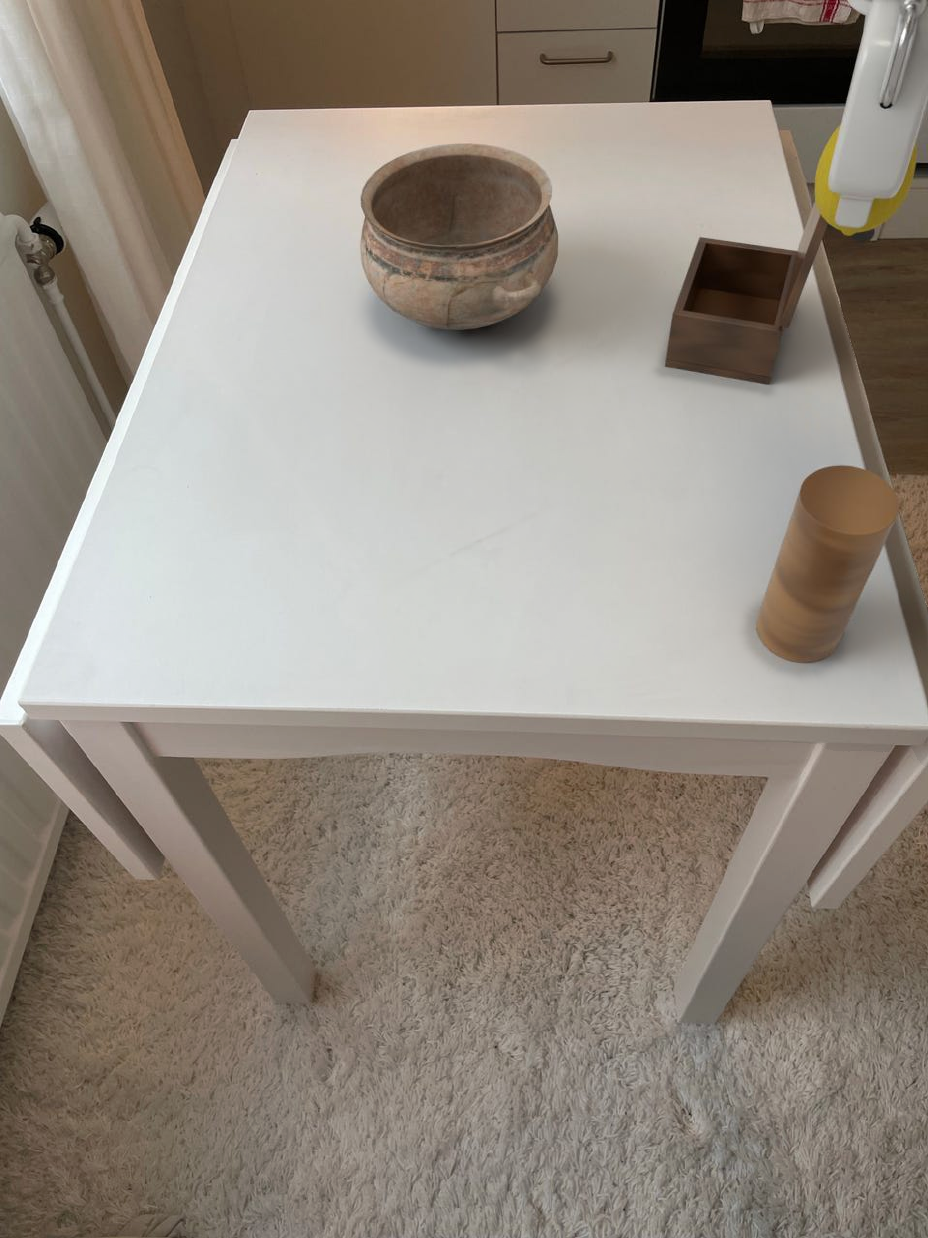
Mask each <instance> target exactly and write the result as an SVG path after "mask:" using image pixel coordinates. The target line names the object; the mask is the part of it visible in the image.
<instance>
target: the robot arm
mask: <svg viewBox="0 0 928 1238" xmlns="http://www.w3.org/2000/svg"><path fill="white" fill-rule="evenodd" d="M846 1H847V2H848V4H849V5H850V7H851V8H852V9H853V10H855V11H857V12H858V13H859V14H861V15H863V16H865V18H864V24H863V32H862V36H861V40H860V45H859V48H858V53H857V56H856V60H855V64H854V69H853V72H852V78H851V81H850V85H849V90H848V93H847V97H846V101H845V105H844V110H843V114H842V118H841V122H840V125H841V126H840V125H839V126H840V130H839V134H838V138H837V142H836V147H835V151H834V155H833V159H832V163H831V167H830V171H829V179H828V185H829V189H830V190H831V191H832V192H834V193H837V194H841V196H840V200H839V204H838V208H837V212H836V217H835V221H836V223H837V224H838V225H839V226H844V227H852V228H861V227H863V226H865V224H866V223H867V220H868V217H869V213H870V210H871V207H872V203H873V200H874V198H878V199H888V198H892V197H894V196H895V195H896V194H897V192H898V191H899V189H900V187H901V185H902V183H903V180H904V177H905V174H906V171H907V168H908V165H909V162H910V158H911V155H912V151H913V148H914V145H915V141H916V142H917V137H918V134H919V131H920V128H921V125H922V121H923V117H924V114H925V111H926V107H927V104H928V0H846Z"/></svg>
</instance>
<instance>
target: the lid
mask: <svg viewBox="0 0 928 1238" xmlns="http://www.w3.org/2000/svg"><path fill="white" fill-rule="evenodd" d="M827 229H829V230H830V229H831V230H835V231H838V232H839V231H840V232H842V231H841V230H839V229H836V228H835V227H833V226H832V225H830V224H829V223H828V222H827V221H826V220H825V219H824V218H823V217H822V215H821V214H820V211H819V209H818V207H817V204H816V200H814V202H813V205H812V208H811V211H810V213H809V216H808V219H807V222H806V223H805V227H804V230H803V232H802V236H801V237H800V242H799V243H798V247H797V250H796V251H797V255H796V259H795V263H794V267H793V271H792V275H791V279H790V283H789V288H788V292H787V296H786V300H785V304H784V308H783V312H782V316H781V320H780V324H779V326H782V327H783V328H786V329H788V328H789V327H790V325H791V322H792V320H793V317H794V314H795V312H796V309H797V307H798V304H799V301H800V298H801V295H802V293H803V290H804V288H805V286H806V282H807V280H808V278H809V275H810V272H811V269H812V266H813V264H814V261H815V259H816V256H817V254H818V251H819V248H820V246H821V243H822V240H823V238H824V236H825V233H826V230H827ZM875 233H876V228H873V229H871V230H868V231H864V232H856V233H855V234H853V235H850V237H851V239H852V241H854V242H855V243H857V244H864V243H868V242H870V241H871V240H872V239H873V238H874V236H875Z"/></svg>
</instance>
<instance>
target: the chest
mask: <svg viewBox="0 0 928 1238" xmlns="http://www.w3.org/2000/svg"><path fill="white" fill-rule="evenodd" d="M797 251H798V250H793V249H786V248H779V247H773V246H772V247H771V246H767V245H766V246H765V245H760V244H759V245H758V244H751V243H745V242H738V241H730V240H723V239H716V238H709V237H702V236H700V237H698V240H697V243H696V246H695V248H694V251H693V252H694V253H693V254H692V258H691V260H690V263H689V266H688V268H687V271H686V275H685V278H684V280H683V284H682V286H681V289H680V291H679V294H678V298H677V300H676V303H675V306H674V309H673V311H672V315H671V323H670V329H669V336H668V341H667V348H666V356H665V362H664V367H668V368H672V369H679V370H685V371H690V372H697V373H701V374H708V375H712V376H719V377H724V378H731V379H735V380H742V381H747V382H753V383H759V384H764V385H769V384H770V380H771V376H772V373H773V369H774V365H775V363H776V357H777V353H778V350H779V346H780V343H781V338H782V335H783V330H784V327H782V326H779V324H780V320H781V316H782V312H783V308H784V304H785V300H786V296H787V292H788V288H789V283H790V279H791V275H792V271H793V267H794V263H795V259H796V255H797Z"/></svg>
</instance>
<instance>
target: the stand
mask: <svg viewBox="0 0 928 1238" xmlns="http://www.w3.org/2000/svg"><path fill="white" fill-rule="evenodd" d="M791 512H792V513H791V514H790V519H789V521H788V524H787V527H786V530H785V533H784V536H783V539H782V542H781V545H780V548H779V551H778V554H777V558H776V561H775V563H774V566H773V569H772V571H771V576H770V579H769V581H768V584H767V588H766V591H765V593H764V596H763V599H762V602H761V606H760V609H759V612H758V614H757V617H756V623H755V627H756V632H757V635H758V637H759V639H760V641H761V643H762V644H763V645H764V646H765V647H766V648H767V649H768V650H769V651H770V652H772V653H773V654H774V655H776V656H778V657H779V658H782V659H784V660H787V661H790V662H795V663H800V664H801V663H802V664H804V663H815V662H818V661H821V660H824V659H825V658H828V657H829V656H830V655H831V654H833V652H835V650H836V649H837V647H838V645H839V643H840V641H841V638H842V636H843V635H844V632H845V629H846V628H847V626H848V623H849V621H850V619H851V617H852V615H853V612H854V610H855V609H856V607H857V604H858V602H859V599H860V597H861V595H862V593H863V591H864V589H865V586H866V585H867V583H868V580H869V578H870V576H871V574H872V572H873V569H874V567H875V565H876V564H877V561H878V559H879V557H880V555H881V552H882V550H883V548H884V546H885V544H886V541H887V539H888V537H889V535H890V533H891V531H892V528H893V526H894V524H895V522H896V520H897V518H898V516H899V512H900V501H899V498H898V495H897V493H896V492H895V489H893V487H892V486H891V485H890V483H888V482H887V481H886V480H885V479H883V478H882V477H881V476H879V475H878V474H876V473H874V472H872V471H870V470H868V469H864V468H861V467H857V466H851V465H843V464H842V465H830V466H825V467H821V468H818V469H817V470H814V471H813V472H811V473H809V475H808V476H806V477H805V478H804V480H803V482H802V483H801V486H800V489H799V491H798V495H797V498H796V501H795V503H794V507H793V509H792V511H791Z"/></svg>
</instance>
